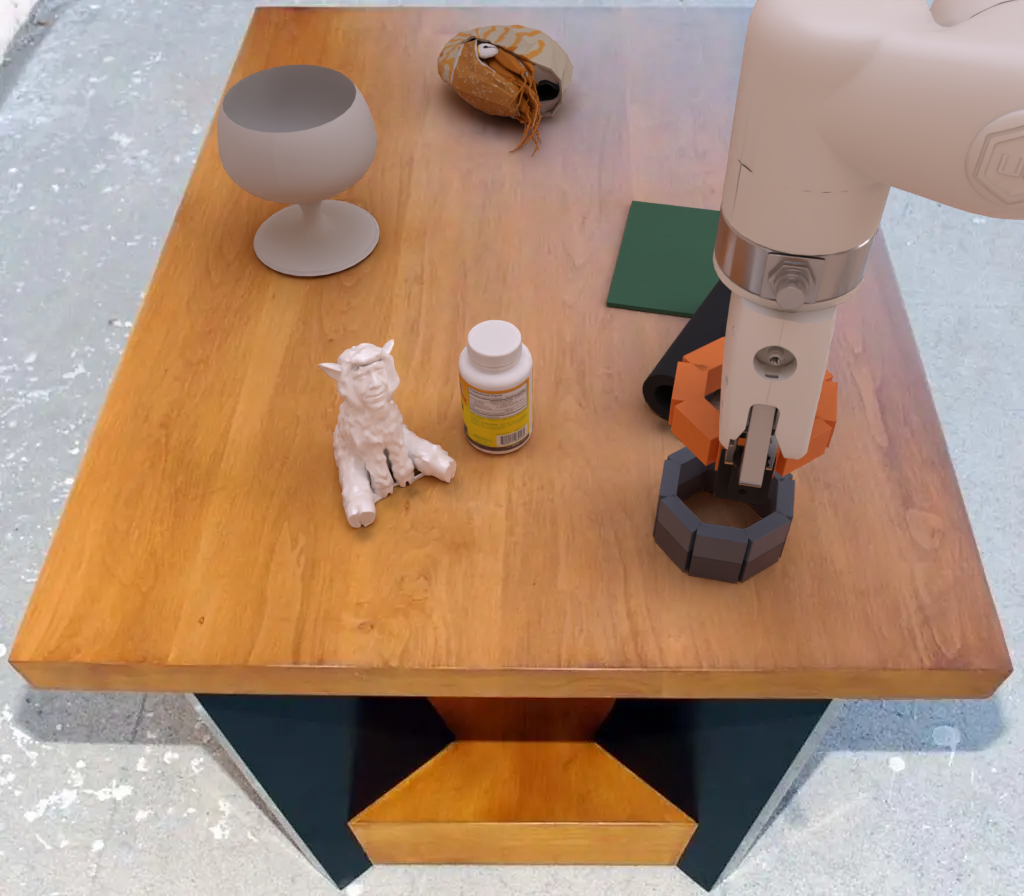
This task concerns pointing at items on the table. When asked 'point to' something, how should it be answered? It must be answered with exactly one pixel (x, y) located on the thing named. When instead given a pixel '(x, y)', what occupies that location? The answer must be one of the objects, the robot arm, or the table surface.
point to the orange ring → (701, 419)
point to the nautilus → (508, 73)
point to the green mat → (665, 259)
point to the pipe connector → (687, 348)
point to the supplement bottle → (496, 388)
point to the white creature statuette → (376, 433)
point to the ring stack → (712, 544)
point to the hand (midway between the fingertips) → (741, 478)
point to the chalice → (301, 164)
